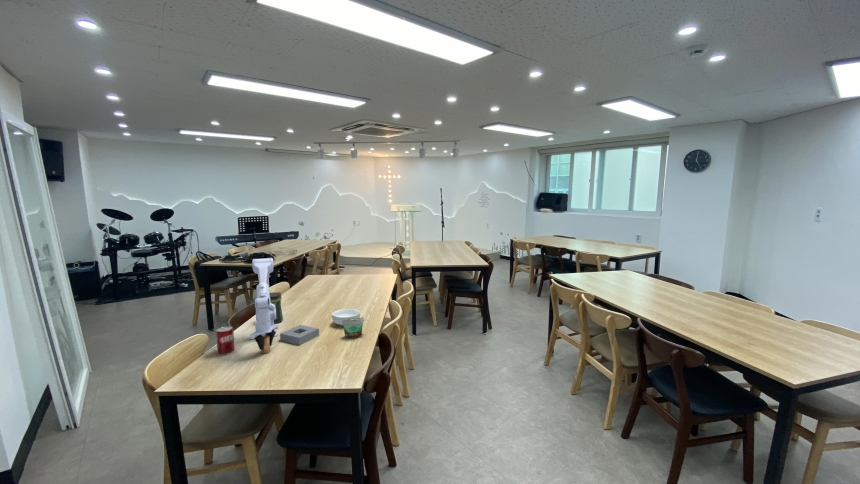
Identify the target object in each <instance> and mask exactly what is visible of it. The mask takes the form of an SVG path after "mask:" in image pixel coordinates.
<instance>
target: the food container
mask: <svg viewBox="0 0 860 484" xmlns="http://www.w3.org/2000/svg"><path fill="white" fill-rule="evenodd" d="M364 318H365V317H364V316H362V317H360V318H353V319H349V320H342V323H343V326H342V327H343V332H344V337H345V338H348V339H356V338H359V337H361V336H363V324H364V323H363V322H364V321H365V319H364Z"/></svg>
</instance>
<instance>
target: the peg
mask: <svg viewBox="0 0 860 484" xmlns="http://www.w3.org/2000/svg"><path fill="white" fill-rule="evenodd" d="M262 337H265V338H264V349H263V350H260V352H261V354H262V355H267V354H270V353H271V346H270V337H269V335H264V336H262Z"/></svg>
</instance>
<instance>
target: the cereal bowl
mask: <svg viewBox="0 0 860 484" xmlns="http://www.w3.org/2000/svg"><path fill="white" fill-rule="evenodd" d="M353 318H361V312H360V310H359V309H355V308H343V309H338V310H335V311H333V312H331V319H332V321H333V323H335V324H337V325H340V326H341V327H344V326H343V323H342V320H349V319H353Z"/></svg>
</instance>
